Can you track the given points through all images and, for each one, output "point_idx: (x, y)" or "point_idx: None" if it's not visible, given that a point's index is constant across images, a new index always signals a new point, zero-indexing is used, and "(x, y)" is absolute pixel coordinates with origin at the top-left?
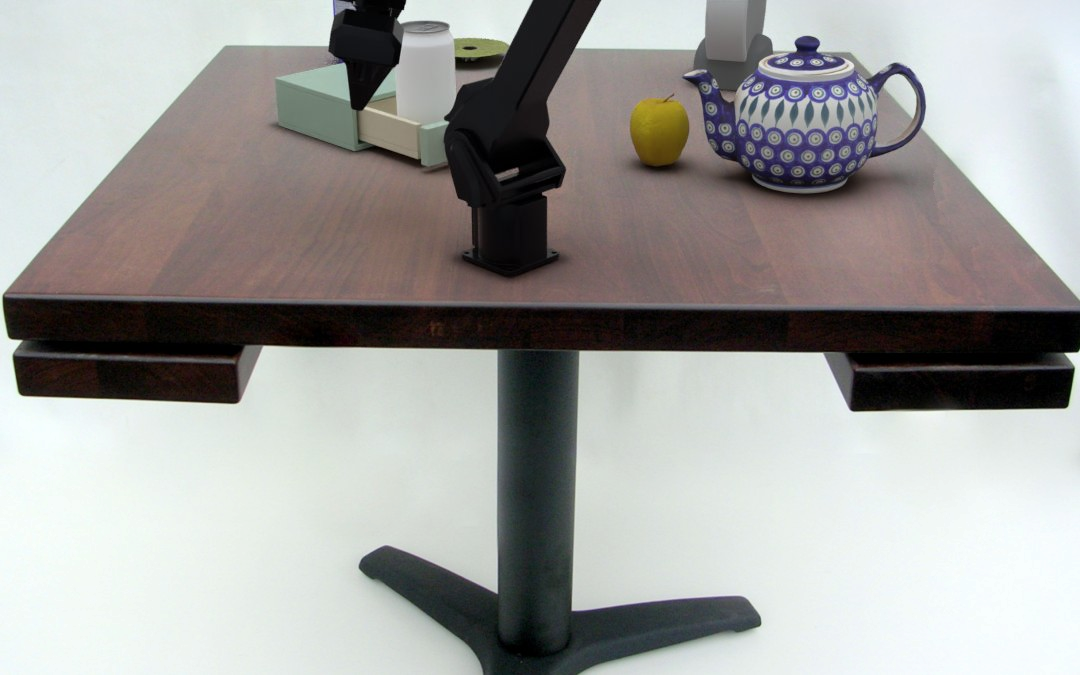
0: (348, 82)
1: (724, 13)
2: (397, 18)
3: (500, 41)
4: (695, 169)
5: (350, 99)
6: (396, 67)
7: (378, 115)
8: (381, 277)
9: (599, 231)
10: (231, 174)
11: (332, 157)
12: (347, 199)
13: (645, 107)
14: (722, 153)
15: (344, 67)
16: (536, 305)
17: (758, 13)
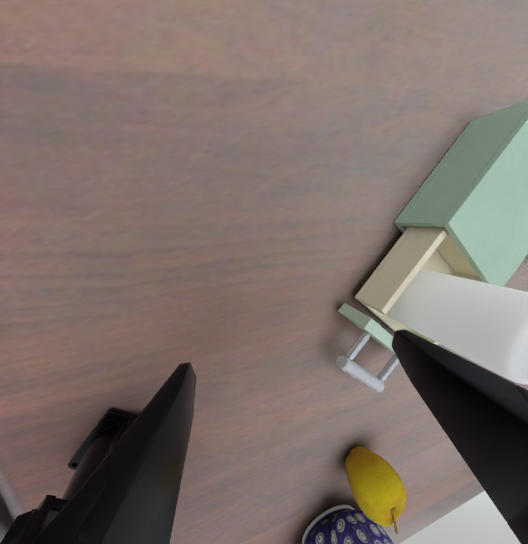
0: (114, 448)
1: None
2: (516, 535)
3: None
4: (345, 475)
5: (161, 387)
6: (487, 294)
7: (419, 257)
8: (29, 356)
9: (210, 472)
10: (331, 94)
11: (380, 203)
12: (262, 252)
13: (384, 504)
14: (334, 523)
15: None
16: (6, 502)
17: None
